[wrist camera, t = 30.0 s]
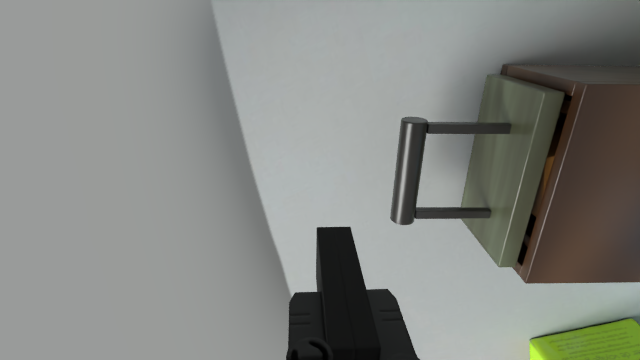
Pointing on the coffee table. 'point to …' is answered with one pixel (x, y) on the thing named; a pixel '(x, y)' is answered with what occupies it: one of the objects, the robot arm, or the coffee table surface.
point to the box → (591, 343)
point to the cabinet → (588, 179)
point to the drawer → (488, 164)
